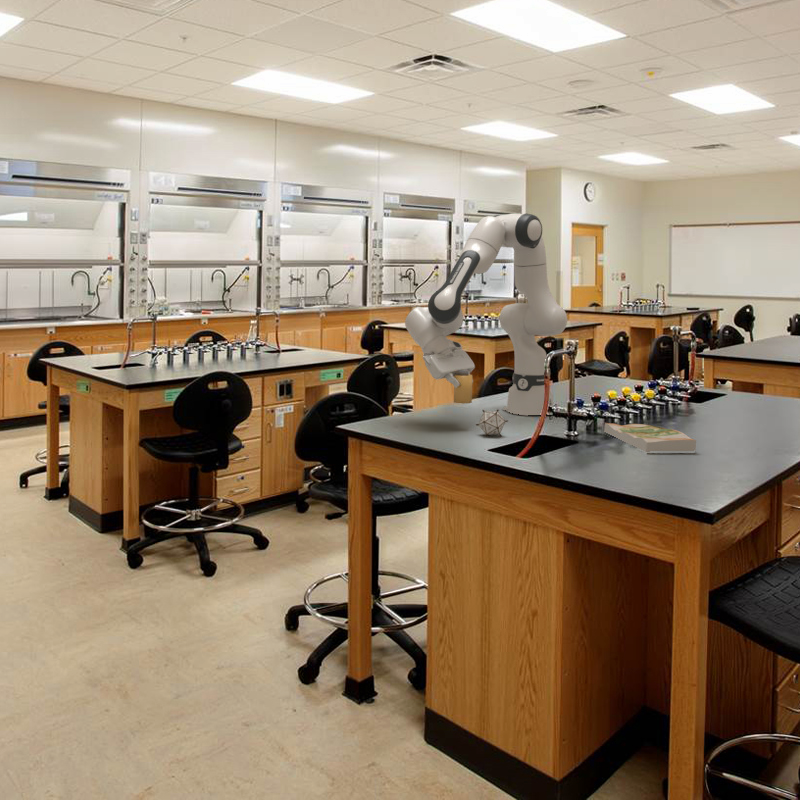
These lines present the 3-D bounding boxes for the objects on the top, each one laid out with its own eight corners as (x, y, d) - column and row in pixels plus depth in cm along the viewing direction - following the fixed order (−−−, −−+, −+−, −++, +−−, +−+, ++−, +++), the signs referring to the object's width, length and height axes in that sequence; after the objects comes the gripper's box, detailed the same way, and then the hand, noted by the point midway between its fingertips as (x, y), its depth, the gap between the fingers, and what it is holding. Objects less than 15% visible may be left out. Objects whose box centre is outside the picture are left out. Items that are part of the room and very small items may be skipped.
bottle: (459, 399, 250) (459, 368, 249) (474, 401, 247) (475, 370, 246) (450, 402, 245) (451, 370, 244) (466, 404, 243) (467, 371, 241)
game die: (495, 449, 238) (505, 426, 231) (469, 437, 239) (479, 414, 232) (503, 430, 244) (513, 408, 237) (478, 419, 245) (488, 396, 238)
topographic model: (694, 455, 220) (696, 438, 219) (645, 455, 218) (647, 438, 217) (647, 434, 249) (648, 419, 249) (603, 434, 247) (604, 419, 247)
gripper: (426, 347, 239) (452, 382, 235) (462, 342, 255) (488, 375, 251) (414, 360, 243) (440, 395, 239) (451, 355, 259) (475, 387, 255)
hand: (464, 385), depth 245 cm, fingers closed on bottle, 6 cm apart
